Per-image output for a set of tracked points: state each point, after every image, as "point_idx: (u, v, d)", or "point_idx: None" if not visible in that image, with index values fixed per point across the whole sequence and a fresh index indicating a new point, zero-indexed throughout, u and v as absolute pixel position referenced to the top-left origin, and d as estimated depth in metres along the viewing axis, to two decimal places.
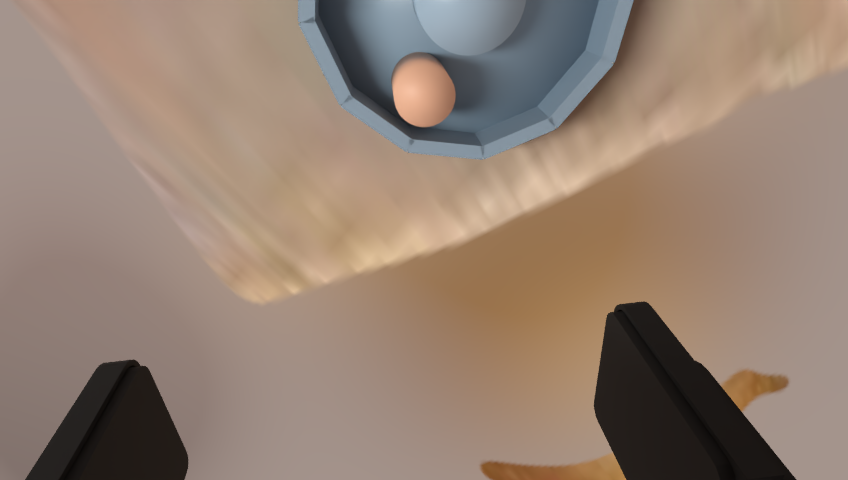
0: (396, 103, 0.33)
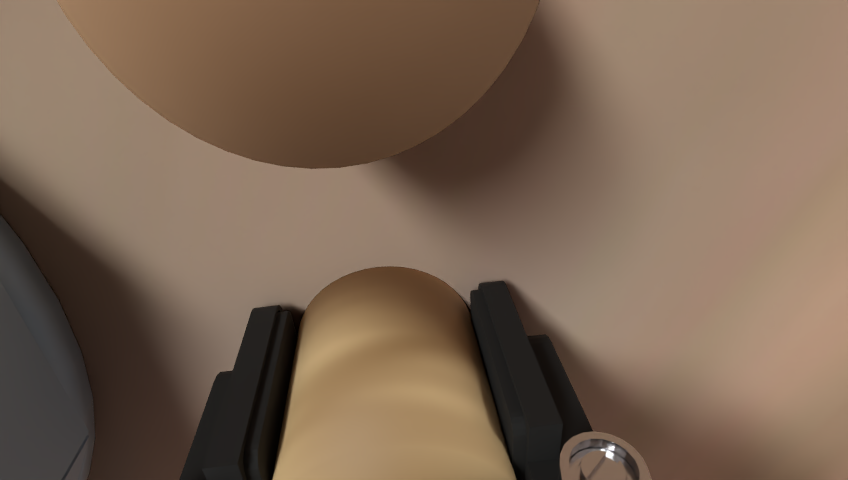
0: None
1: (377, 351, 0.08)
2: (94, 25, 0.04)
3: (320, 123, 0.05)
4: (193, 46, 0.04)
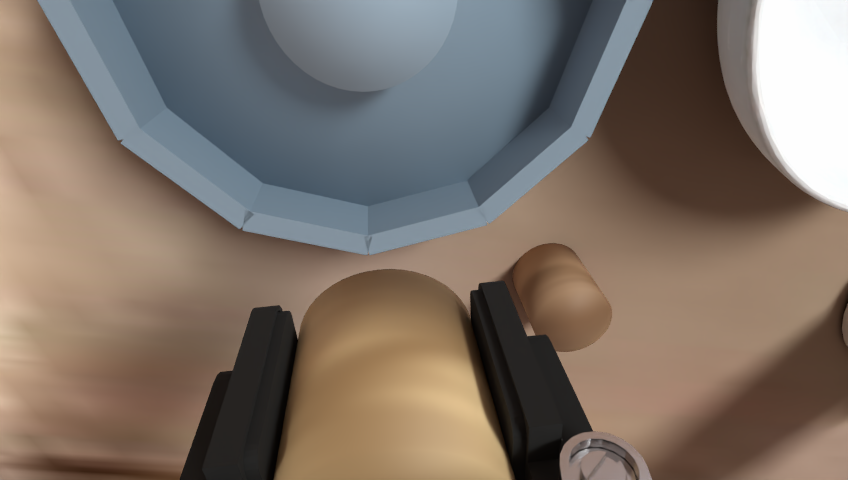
0: None
1: (377, 354, 0.09)
2: (558, 298, 0.25)
3: (542, 327, 0.26)
4: (555, 310, 0.25)
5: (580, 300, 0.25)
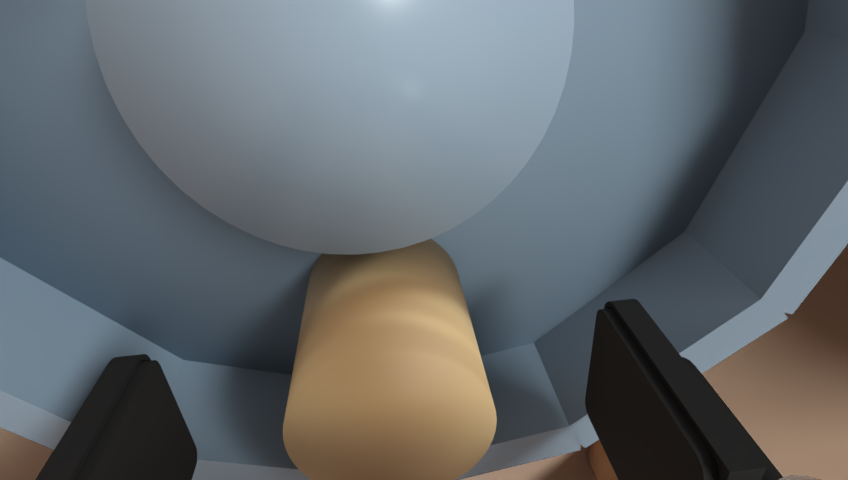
0: None
1: (376, 288, 0.10)
2: None
3: None
4: None
5: None
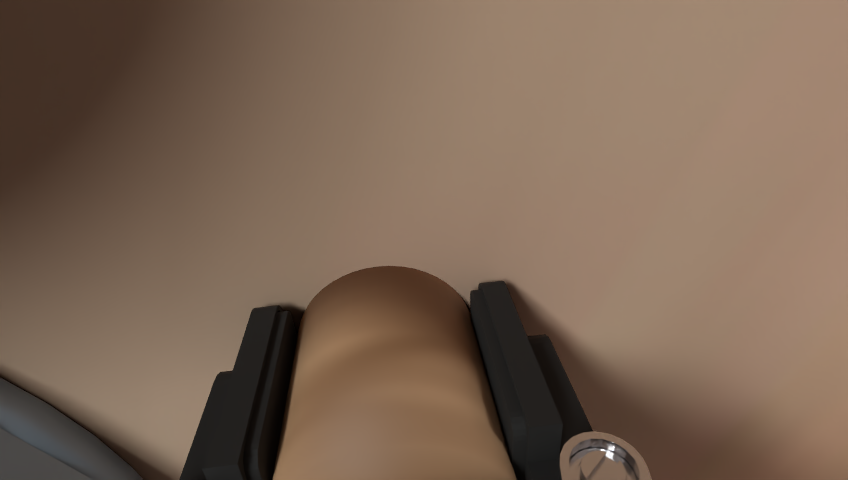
0: None
1: None
2: None
3: None
4: None
5: None
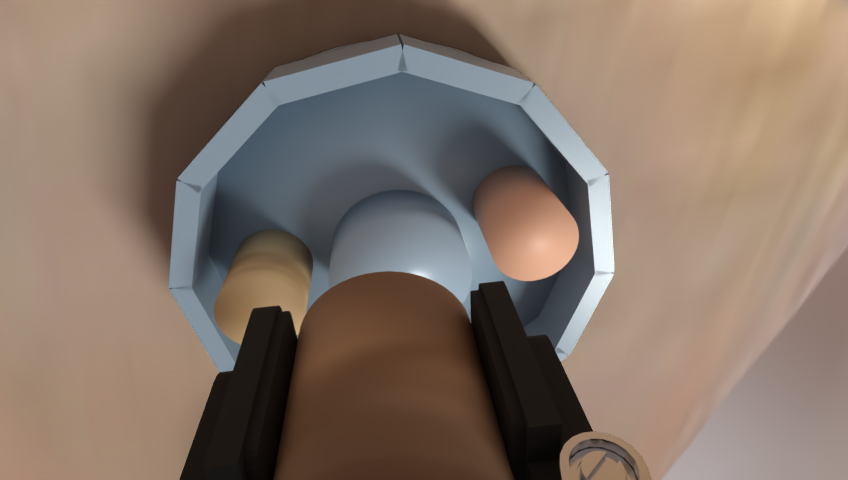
0: (569, 258, 0.23)
1: (308, 285, 0.25)
2: None
3: None
4: None
5: None
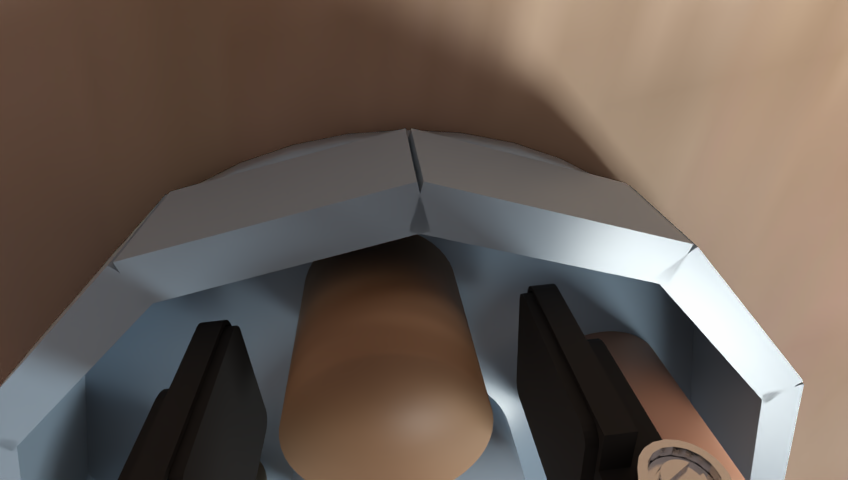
0: None
1: None
2: (301, 467, 0.10)
3: None
4: (339, 469, 0.10)
5: (316, 425, 0.09)
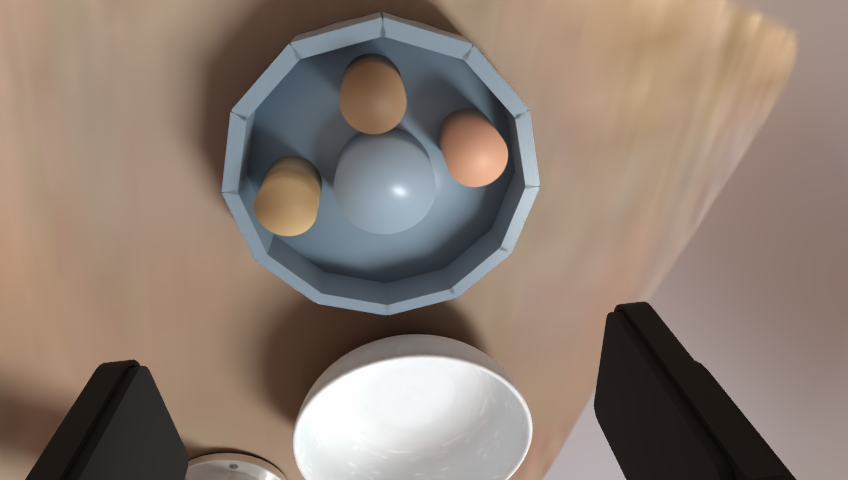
0: (502, 170, 0.33)
1: (318, 193, 0.35)
2: (345, 114, 0.30)
3: (374, 127, 0.31)
4: (357, 116, 0.31)
5: (350, 95, 0.30)
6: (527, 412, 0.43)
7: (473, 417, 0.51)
